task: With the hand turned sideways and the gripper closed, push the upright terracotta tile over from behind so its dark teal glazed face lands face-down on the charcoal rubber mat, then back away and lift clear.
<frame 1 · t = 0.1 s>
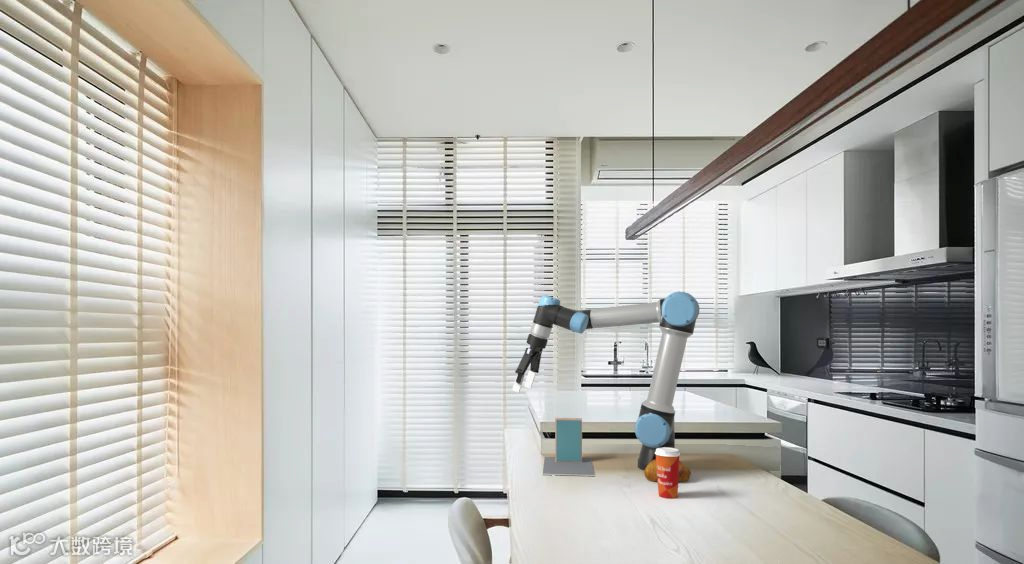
hand: (521, 389, 222), 28 cm above the table, tool tilted 20°, fingers open, 13 cm apart
mat: (568, 466, 217), on the table
croissant: (666, 479, 202), on the table
tile: (568, 461, 223), point 1 cm above the table, touching mat
paper cup: (668, 496, 181), on the table
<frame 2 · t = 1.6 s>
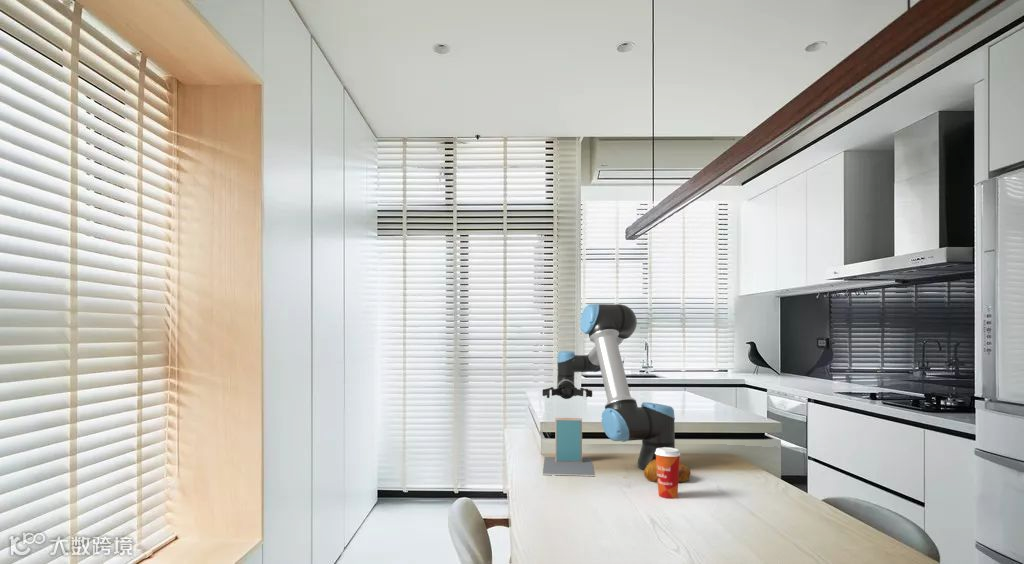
hand: (567, 395, 233), 24 cm above the table, tool horizontal, fingers open, 13 cm apart
nothing on the table moved.
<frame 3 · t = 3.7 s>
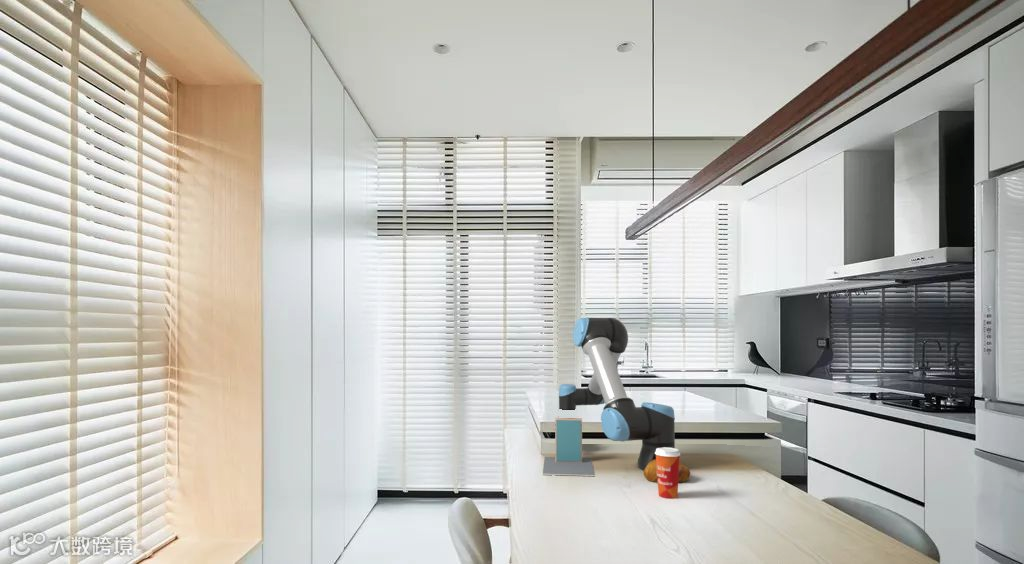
hand: (568, 434, 230), 9 cm above the table, tool horizontal, fingers closed
nothing on the table moved.
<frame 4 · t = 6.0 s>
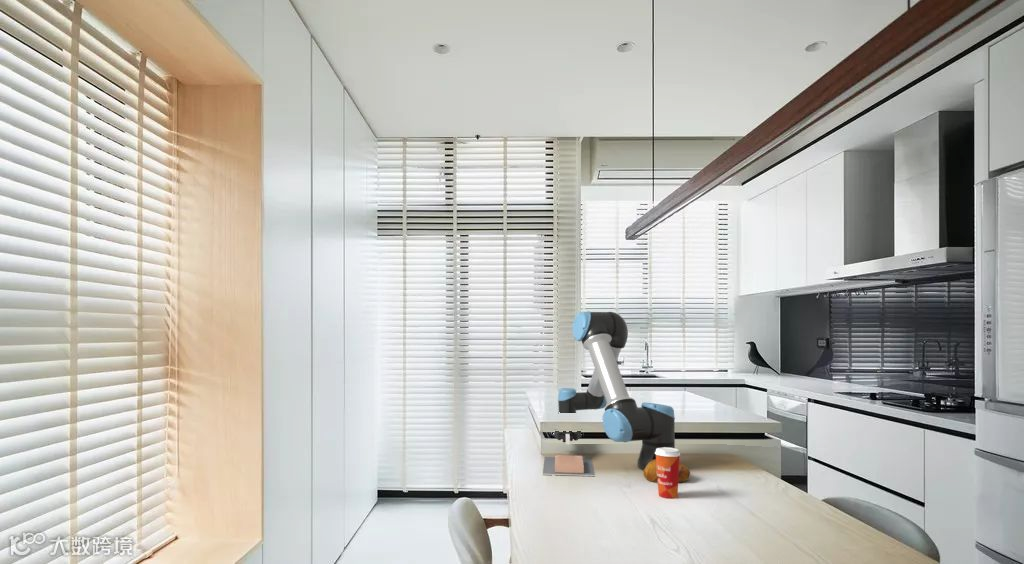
hand: (567, 440, 221), 9 cm above the table, tool horizontal, fingers closed
tile: (568, 458, 221), point 2 cm above the table, tilted 90°, touching mat
everything else where it was.
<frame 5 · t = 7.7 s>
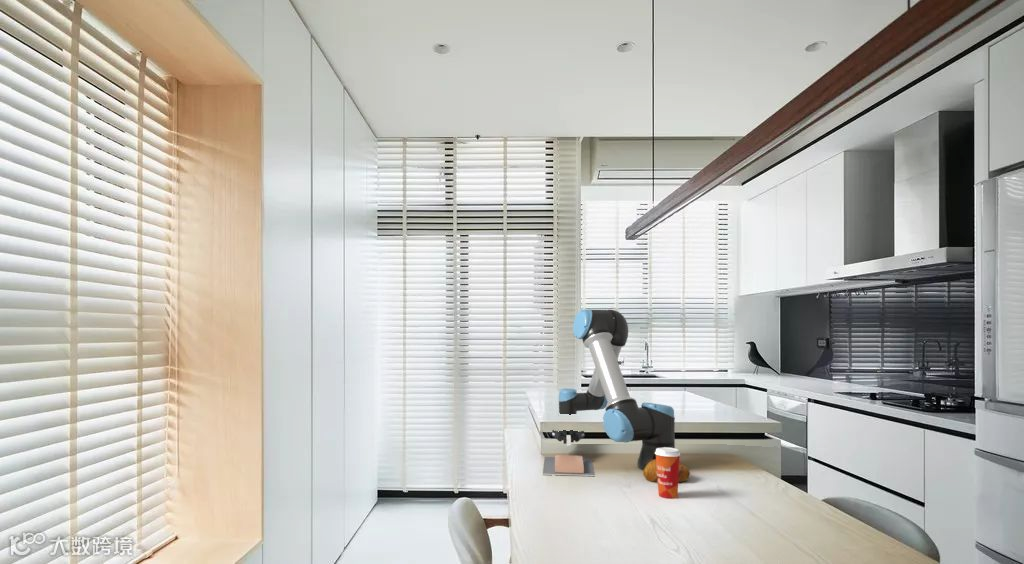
hand: (568, 442, 217), 9 cm above the table, tool horizontal, fingers closed
nothing on the table moved.
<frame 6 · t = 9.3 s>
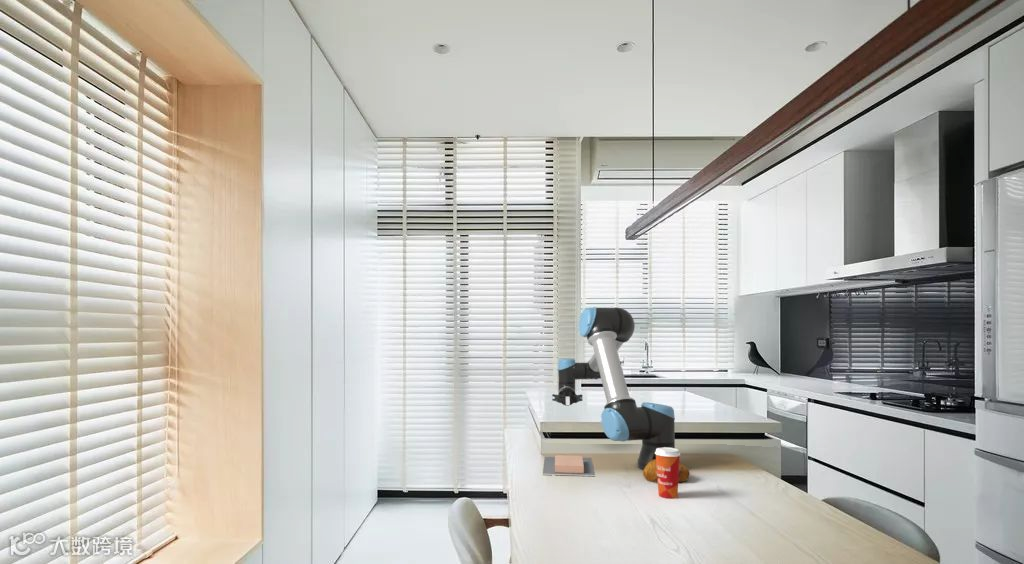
hand: (567, 401, 231), 22 cm above the table, tool horizontal, fingers closed
nothing on the table moved.
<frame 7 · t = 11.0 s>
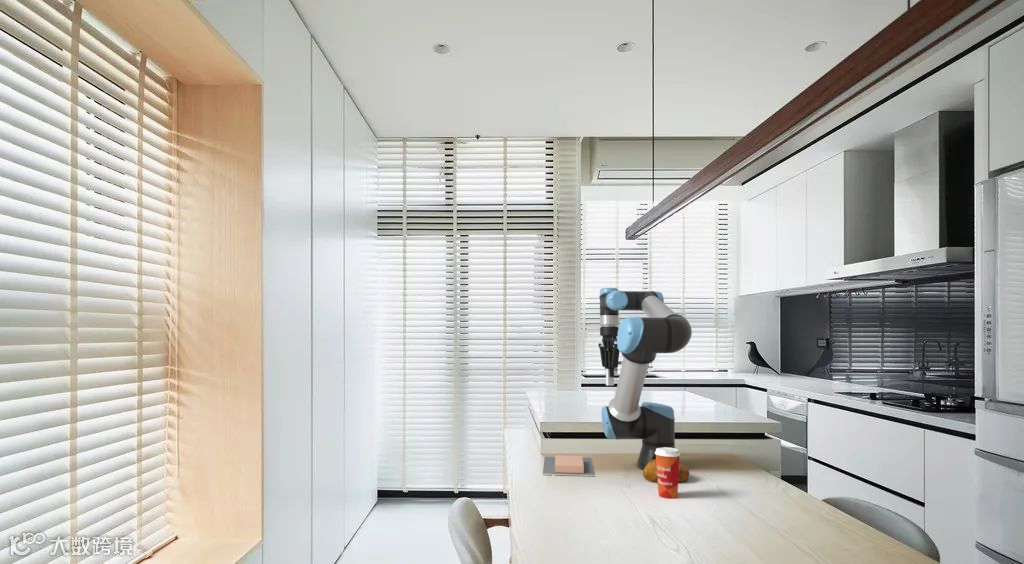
hand: (610, 385, 236), 28 cm above the table, tool pointing down, fingers closed
nothing on the table moved.
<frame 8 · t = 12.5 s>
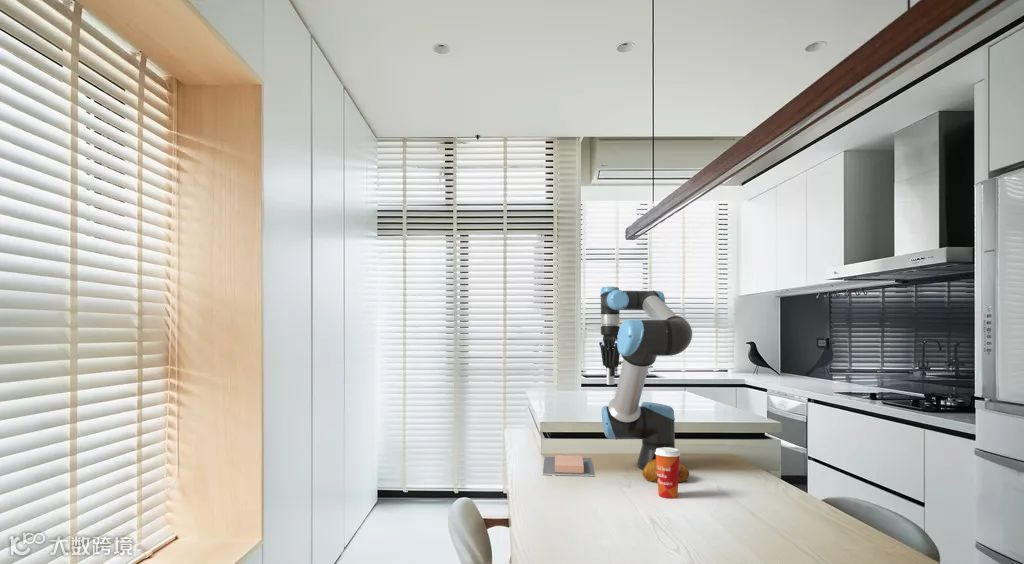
hand: (610, 384, 236), 28 cm above the table, tool pointing down, fingers closed
nothing on the table moved.
at the end: tile tilted 90°; tile touching mat; tile moved 2.1 cm from its start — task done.
